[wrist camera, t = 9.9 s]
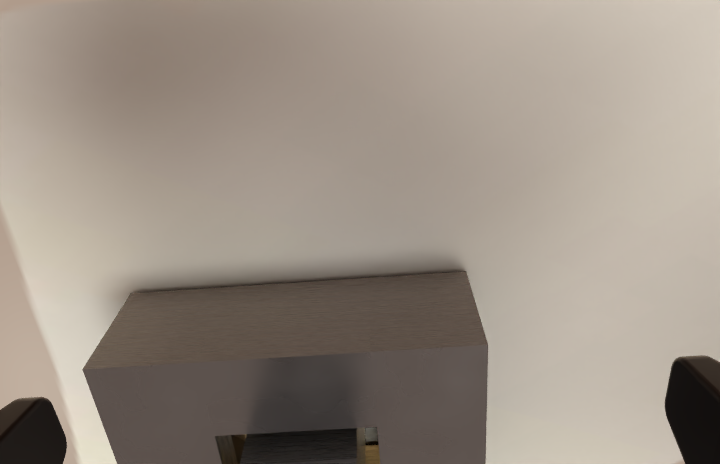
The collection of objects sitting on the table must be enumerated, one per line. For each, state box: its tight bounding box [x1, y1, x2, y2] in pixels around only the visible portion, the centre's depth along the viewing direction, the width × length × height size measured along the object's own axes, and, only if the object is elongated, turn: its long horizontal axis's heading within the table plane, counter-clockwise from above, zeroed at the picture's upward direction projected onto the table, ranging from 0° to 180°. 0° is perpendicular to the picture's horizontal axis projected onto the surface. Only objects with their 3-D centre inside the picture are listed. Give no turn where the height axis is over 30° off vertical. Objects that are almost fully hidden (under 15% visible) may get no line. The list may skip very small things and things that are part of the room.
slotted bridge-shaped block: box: [83, 271, 488, 464], centre depth 24 cm, size 13×12×4 cm
